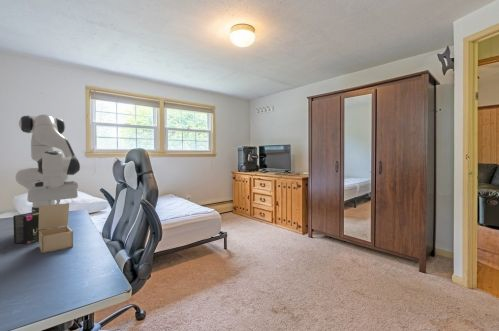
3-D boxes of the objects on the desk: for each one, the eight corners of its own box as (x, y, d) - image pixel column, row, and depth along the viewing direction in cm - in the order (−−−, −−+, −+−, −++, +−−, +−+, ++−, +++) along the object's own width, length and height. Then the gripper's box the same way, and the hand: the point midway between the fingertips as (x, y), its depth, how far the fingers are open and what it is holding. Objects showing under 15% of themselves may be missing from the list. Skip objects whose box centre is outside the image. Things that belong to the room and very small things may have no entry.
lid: (38, 230, 124) (38, 229, 125) (67, 225, 133) (67, 224, 133) (39, 207, 120) (39, 206, 120) (69, 203, 128) (68, 202, 129)
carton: (39, 246, 124) (38, 230, 124) (67, 240, 133) (67, 226, 132) (42, 253, 114) (41, 236, 114) (73, 246, 123) (72, 231, 123)
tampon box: (27, 244, 127) (26, 216, 126) (13, 243, 129) (12, 215, 128) (48, 237, 138) (47, 212, 137) (35, 236, 139) (34, 211, 139)
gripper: (76, 180, 135) (76, 205, 136) (26, 183, 120) (27, 210, 121) (78, 181, 131) (79, 206, 131) (27, 184, 116) (28, 212, 117)
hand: (53, 208), depth 126 cm, fingers closed, pressing on lid
